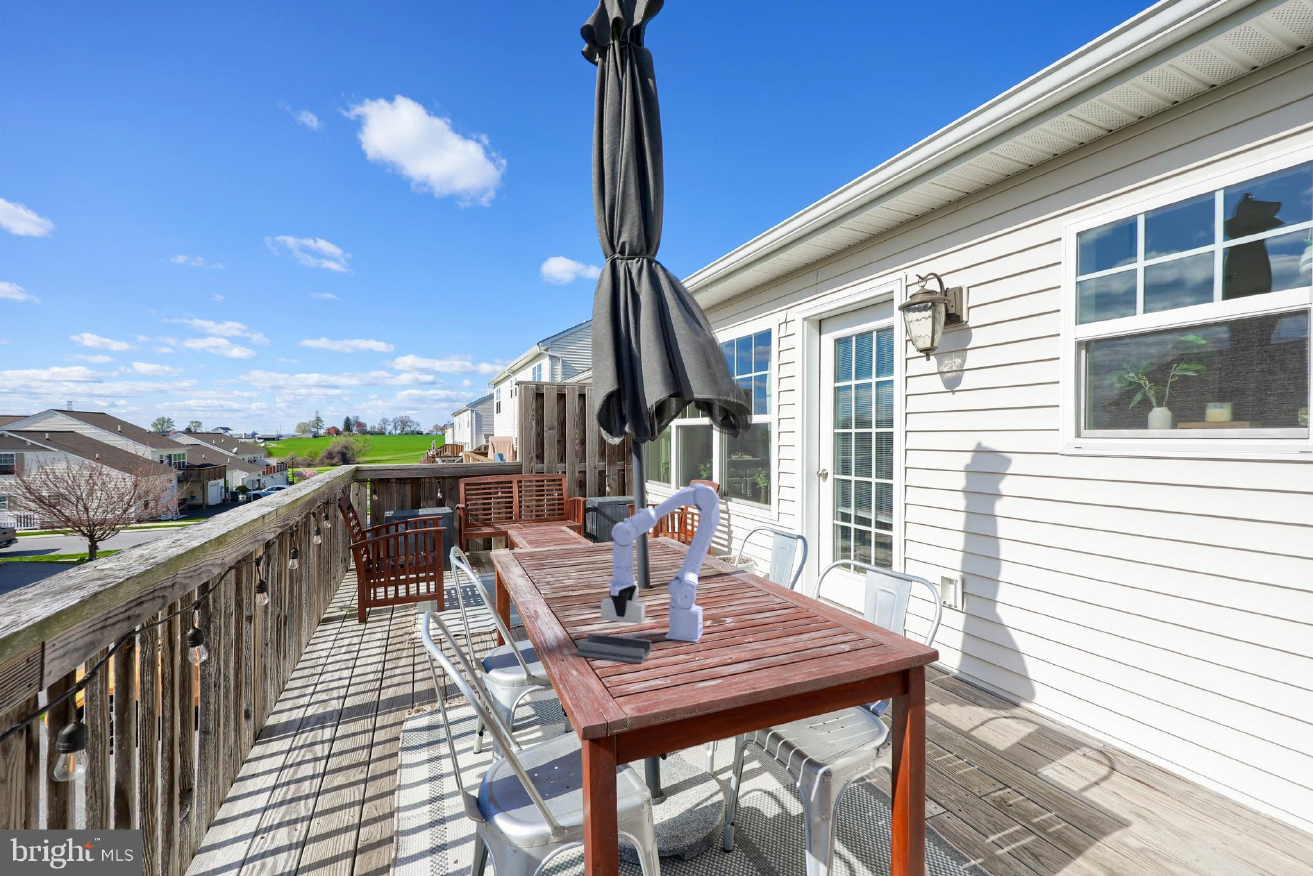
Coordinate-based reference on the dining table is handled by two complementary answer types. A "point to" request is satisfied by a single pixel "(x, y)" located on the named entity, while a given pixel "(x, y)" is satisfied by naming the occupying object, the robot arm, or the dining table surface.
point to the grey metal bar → (632, 614)
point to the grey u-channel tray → (615, 648)
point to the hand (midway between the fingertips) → (623, 613)
